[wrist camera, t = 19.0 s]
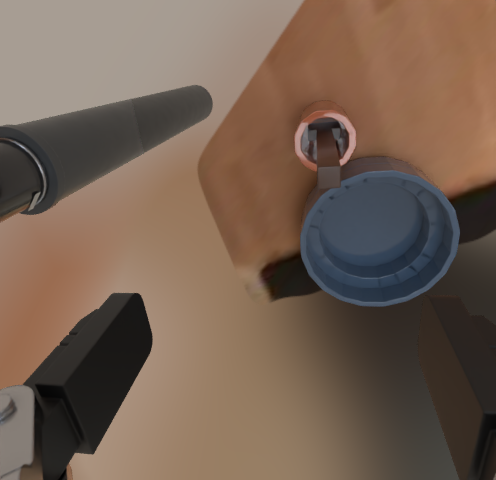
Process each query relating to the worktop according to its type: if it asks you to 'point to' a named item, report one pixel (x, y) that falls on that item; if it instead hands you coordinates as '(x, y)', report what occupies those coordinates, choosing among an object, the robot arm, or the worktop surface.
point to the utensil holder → (320, 114)
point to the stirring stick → (326, 153)
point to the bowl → (378, 233)
